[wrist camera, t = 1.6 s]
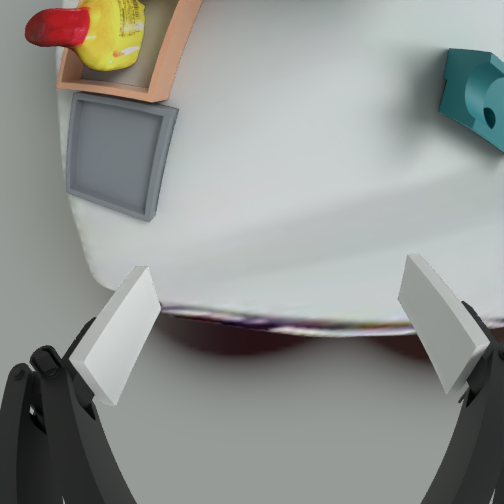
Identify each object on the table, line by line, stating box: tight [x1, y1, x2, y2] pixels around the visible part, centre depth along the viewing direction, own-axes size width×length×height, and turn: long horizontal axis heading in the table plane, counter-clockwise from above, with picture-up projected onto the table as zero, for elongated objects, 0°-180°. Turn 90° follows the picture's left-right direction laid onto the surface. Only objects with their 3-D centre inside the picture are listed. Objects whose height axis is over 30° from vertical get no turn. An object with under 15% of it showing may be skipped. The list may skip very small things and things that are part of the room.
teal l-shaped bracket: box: [439, 48, 504, 153], centre depth 21 cm, size 18×11×10 cm, turn 81°
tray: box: [66, 91, 179, 222], centre depth 36 cm, size 18×18×2 cm
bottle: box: [25, 0, 145, 71], centre depth 18 cm, size 12×6×20 cm, turn 176°
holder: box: [56, 0, 203, 102], centre depth 24 cm, size 18×18×5 cm
